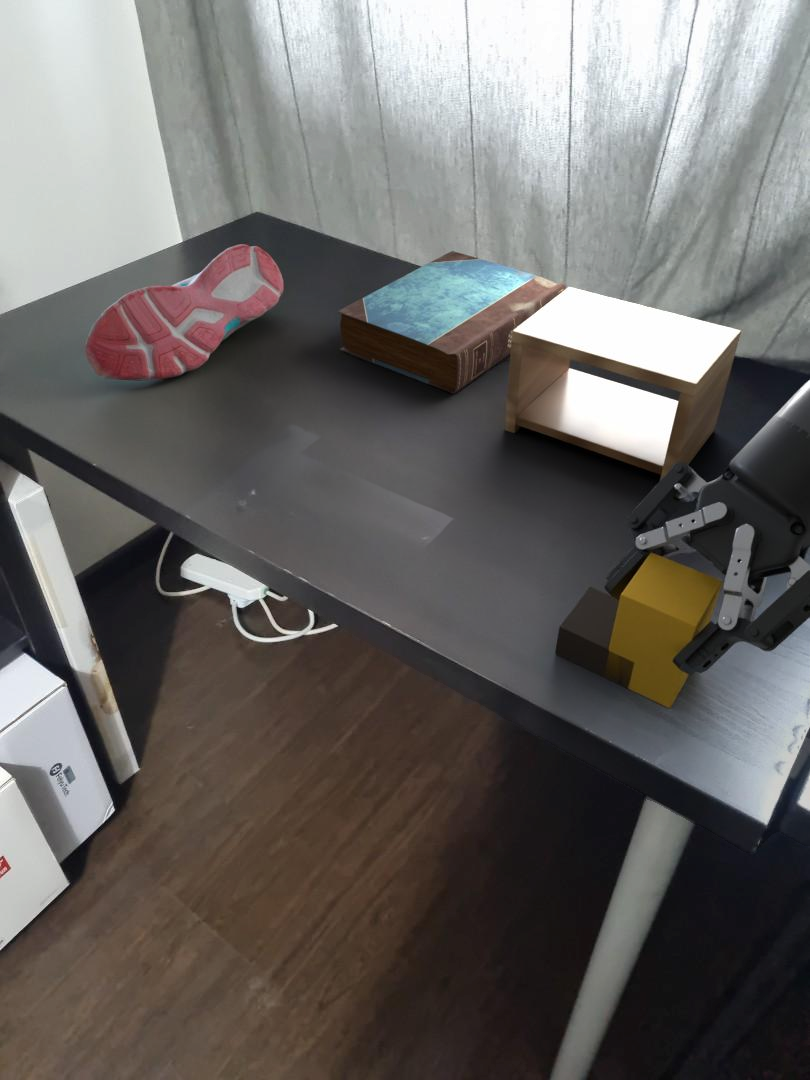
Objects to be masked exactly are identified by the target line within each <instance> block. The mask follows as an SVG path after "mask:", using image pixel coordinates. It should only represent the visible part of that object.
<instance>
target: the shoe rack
mask: <svg viewBox="0 0 810 1080" xmlns="http://www.w3.org/2000/svg"><path fill="white" fill-rule="evenodd" d="M741 333H742V330H740V329H736V328H733V327H728V326H725V325H721V324H717V323H712V322H709V321H705V320H701V319H698V318H693V317H689V316H686V315H681V314H678V313H674V312H670V311H666V310H661V309H658V308H654V307H650V306H645V305H642V304H638V303H634V302H630V301H627V300H623V299H622V300H621V299H618V298H615V297H611V296H608V295H607V296H606V295H602V294H600V293H596V292H591V291H587V290H582V289H579V288H575V287H571V286H568V287H567V288H565V290H564V291H563V292H562V293H560V294H559V295H558V296H557V297H555V298H554V299H553V300H552V301H550V302H549V303H548V304H546V305H545V306H544V307H543V308H541V309H540V310H539V311H537V312H536V313H535V314H534V315H532V316H531V317H530V318H528V319H527V320H526V321H525V322H523V323H522V324H521V325H519V326H518V327H517V328H516V329H514V330H513V331H512V343H511V354H510V355H509V367H508V369H509V370H508V382H507V394H506V407H505V422H504V431H506V432H509V433H512V434H515V433H517V432H518V431H519V430H520V429H521V428H524V429H527V430H530V431H534V432H536V433H539V434H542V435H545V436H547V437H550V438H554V439H557V440H560V441H562V442H565V443H568V444H571V445H574V446H576V447H580V448H583V449H586V450H588V451H591V452H594V453H597V454H600V455H602V456H606V457H608V458H611V459H614V460H617V461H620V462H623V463H625V464H629V465H632V466H634V467H636V468H640V469H643V470H646V471H649V472H651V473H654V474H657V475H660V478H659V481H660V480H661V479H662V478H663V477H664V476H665V475H666V474H667V473H668V471H669V470H670V469H671V468H672V467H673V466H674V465H675V464H676V463H678V462H685V463H686V464H687V465H688V466H689V464H690V463H691V462H692V461H693V459H694V458H695V457H696V455H697V454H698V452H699V451H700V450H701V448H703V446H704V445H705V443H706V442H707V441H708V439H709V438H710V437H711V435H712V434H713V433H714V431H715V429H716V426H717V422H718V418H719V415H720V411H721V406H722V404H723V399H724V396H725V392H726V389H727V386H728V382H729V378H730V375H731V371H732V366H733V363H734V360H735V355H736V352H737V349H738V345H739V341H740V338H741ZM571 361H574V362H578V363H580V364H584V365H588V366H591V367H594V368H598V369H602V370H605V371H608V372H612V373H615V374H618V375H621V376H623V377H628V378H631V379H635V380H638V381H642V382H645V383H649V384H651V385H655V386H659V387H661V388H665V389H669V390H671V391H675V392H679V397H678V400H676V399H673V398H670V397H666V396H664V395H663V396H662V395H660V394H656V393H653V392H650V391H647V390H643V389H640V388H638V387H637V388H636V387H634V386H630V385H627V384H624V383H620V382H617V381H613V380H610V379H606V378H605V377H600V376H597V375H593V374H590V373H587V372H583V371H580V370H577V369H573V368H570V363H571Z"/></svg>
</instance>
